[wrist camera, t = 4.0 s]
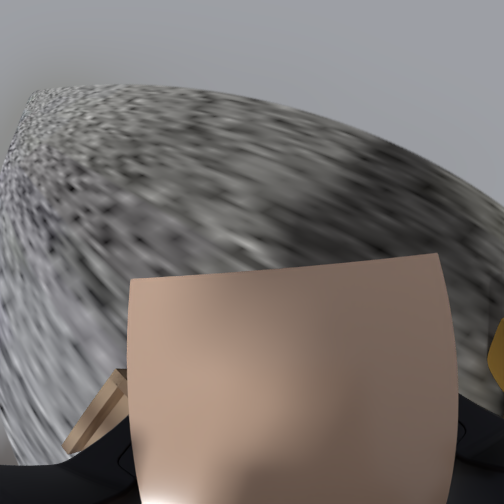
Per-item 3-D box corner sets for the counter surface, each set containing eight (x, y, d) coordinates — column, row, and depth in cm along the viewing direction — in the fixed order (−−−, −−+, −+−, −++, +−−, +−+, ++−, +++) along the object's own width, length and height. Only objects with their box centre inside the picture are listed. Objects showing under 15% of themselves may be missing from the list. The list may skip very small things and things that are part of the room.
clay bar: (326, 412, 12) (442, 518, 2) (245, 418, 13) (153, 546, 2) (321, 336, 14) (437, 252, 3) (242, 343, 15) (131, 279, 4)
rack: (255, 566, 11) (252, 584, 8) (81, 440, 17) (61, 445, 14) (336, 506, 13) (343, 524, 10) (136, 369, 20) (115, 368, 17)
